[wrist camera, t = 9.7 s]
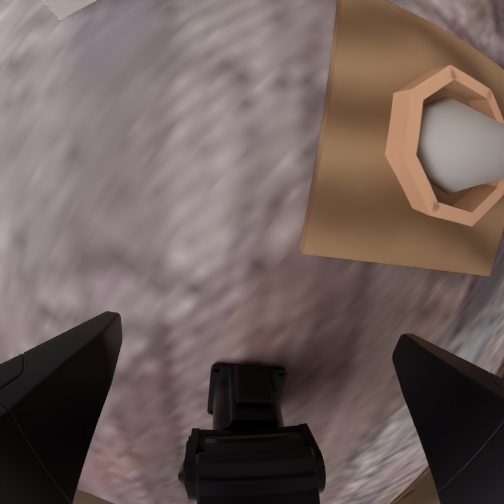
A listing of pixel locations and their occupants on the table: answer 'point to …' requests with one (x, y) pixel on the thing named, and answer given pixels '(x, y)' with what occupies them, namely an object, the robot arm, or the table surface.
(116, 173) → the table surface
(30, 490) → the robot arm
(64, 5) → the grater
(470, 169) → the flask
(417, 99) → the ring
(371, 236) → the board
